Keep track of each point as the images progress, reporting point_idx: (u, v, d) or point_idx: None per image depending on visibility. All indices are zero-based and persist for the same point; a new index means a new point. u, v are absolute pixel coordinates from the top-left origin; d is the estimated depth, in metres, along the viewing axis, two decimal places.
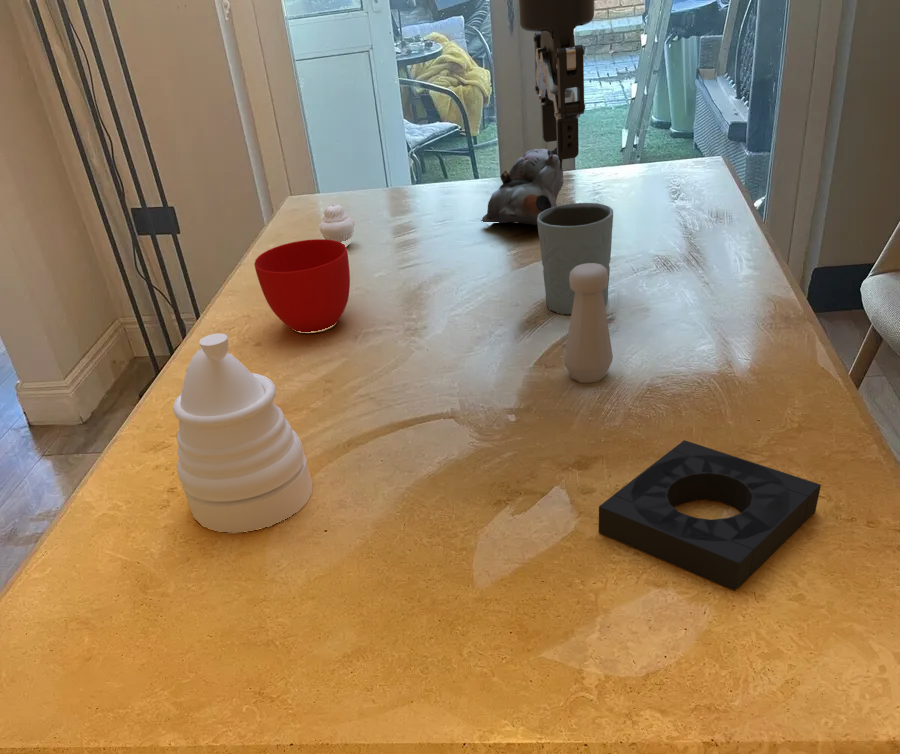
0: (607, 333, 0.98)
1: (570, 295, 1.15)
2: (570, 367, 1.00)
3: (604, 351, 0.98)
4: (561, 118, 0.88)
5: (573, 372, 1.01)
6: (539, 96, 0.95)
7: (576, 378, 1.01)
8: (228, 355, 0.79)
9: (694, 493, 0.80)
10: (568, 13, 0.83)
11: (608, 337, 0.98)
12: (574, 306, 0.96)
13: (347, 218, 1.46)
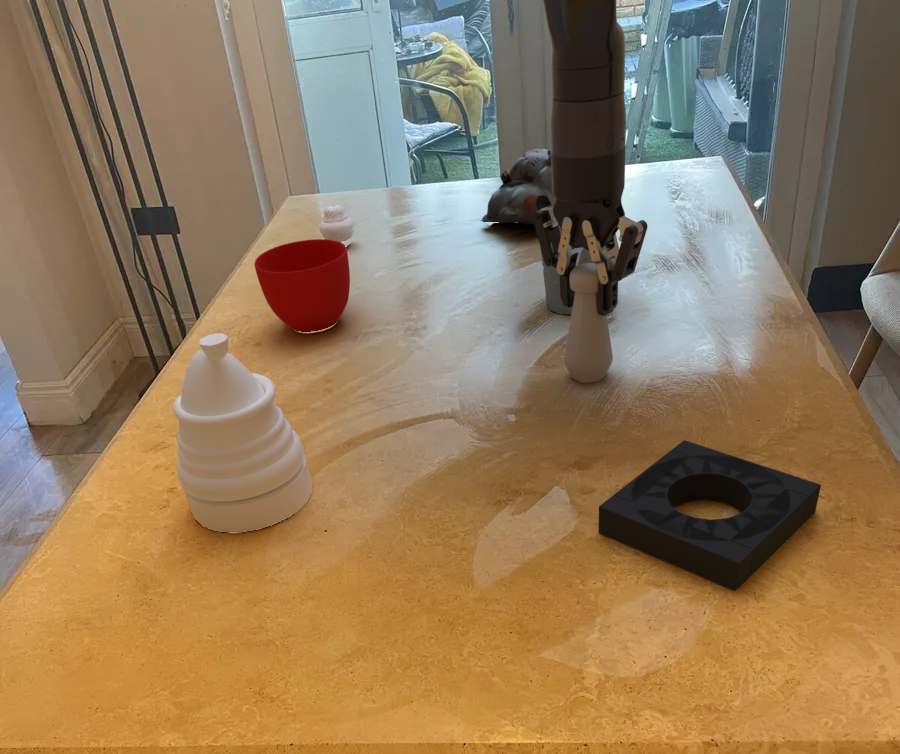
0: (607, 333, 0.98)
1: None
2: (570, 367, 1.00)
3: (604, 351, 0.98)
4: (609, 281, 0.92)
5: (573, 372, 1.01)
6: (561, 268, 0.95)
7: (576, 378, 1.01)
8: (228, 355, 0.79)
9: (694, 493, 0.80)
10: (620, 183, 0.86)
11: (608, 337, 0.98)
12: (574, 306, 0.96)
13: (347, 218, 1.46)
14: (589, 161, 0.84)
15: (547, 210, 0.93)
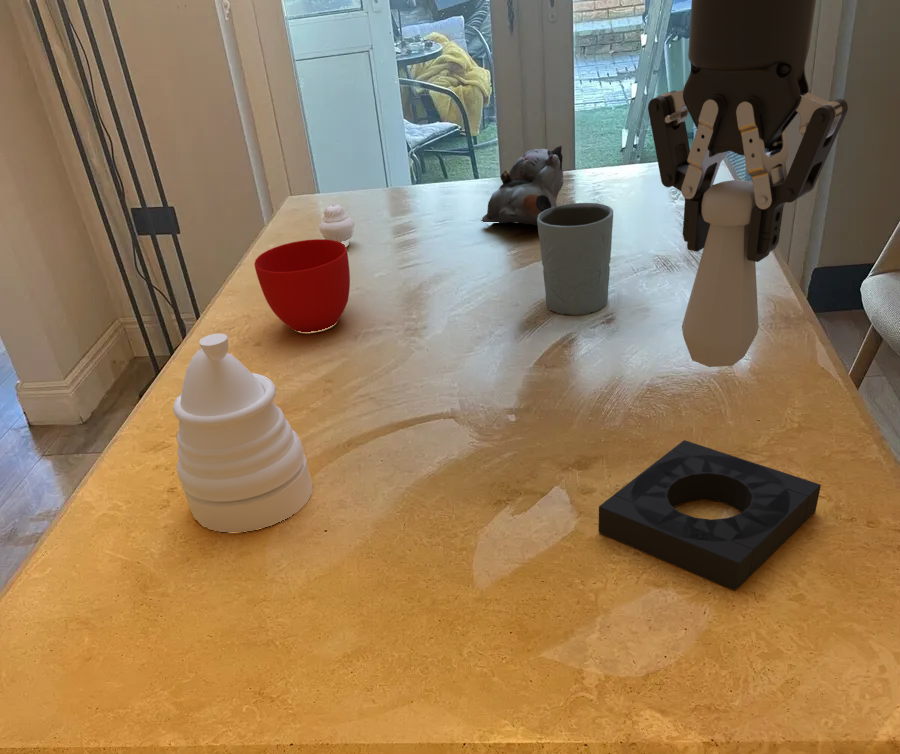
0: (754, 290, 0.64)
1: (570, 295, 1.15)
2: (694, 343, 0.66)
3: (749, 318, 0.65)
4: (772, 204, 0.58)
5: (698, 351, 0.67)
6: (690, 188, 0.62)
7: (701, 360, 0.68)
8: (228, 355, 0.79)
9: (694, 493, 0.80)
10: (807, 35, 0.53)
11: (755, 297, 0.65)
12: (707, 248, 0.63)
13: (347, 218, 1.46)
14: None
15: (672, 95, 0.60)
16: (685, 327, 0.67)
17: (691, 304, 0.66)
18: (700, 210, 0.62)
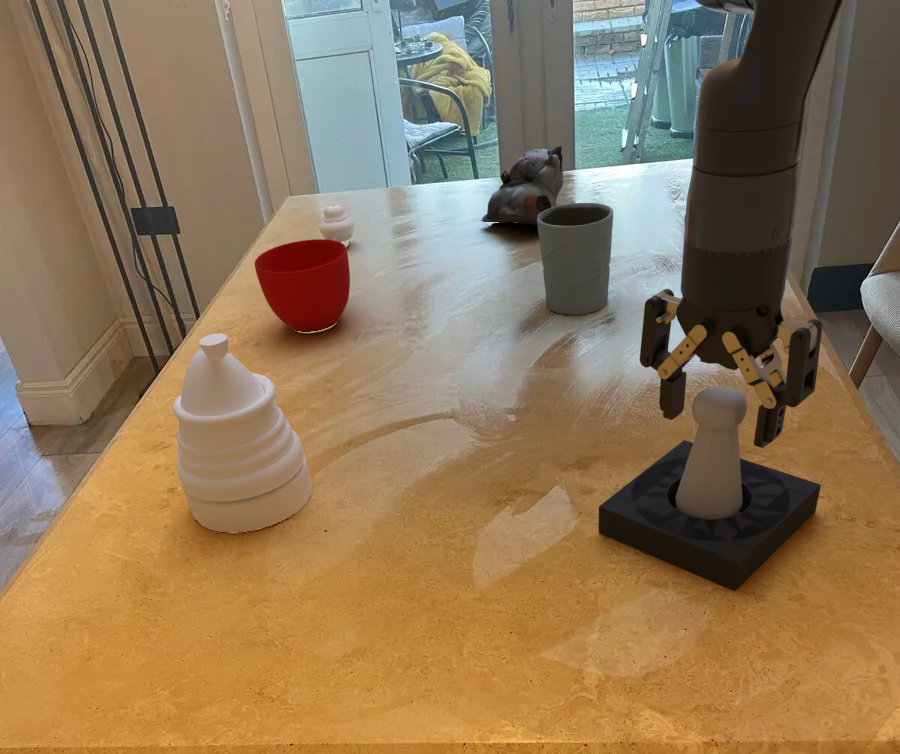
0: (738, 475, 0.73)
1: (570, 295, 1.15)
2: None
3: (734, 498, 0.74)
4: (777, 405, 0.66)
5: None
6: (664, 372, 0.71)
7: None
8: (228, 355, 0.79)
9: None
10: (782, 284, 0.61)
11: (739, 480, 0.74)
12: (697, 442, 0.72)
13: (347, 218, 1.46)
14: (746, 257, 0.59)
15: (667, 301, 0.68)
16: (678, 501, 0.76)
17: (683, 484, 0.75)
18: (674, 388, 0.72)
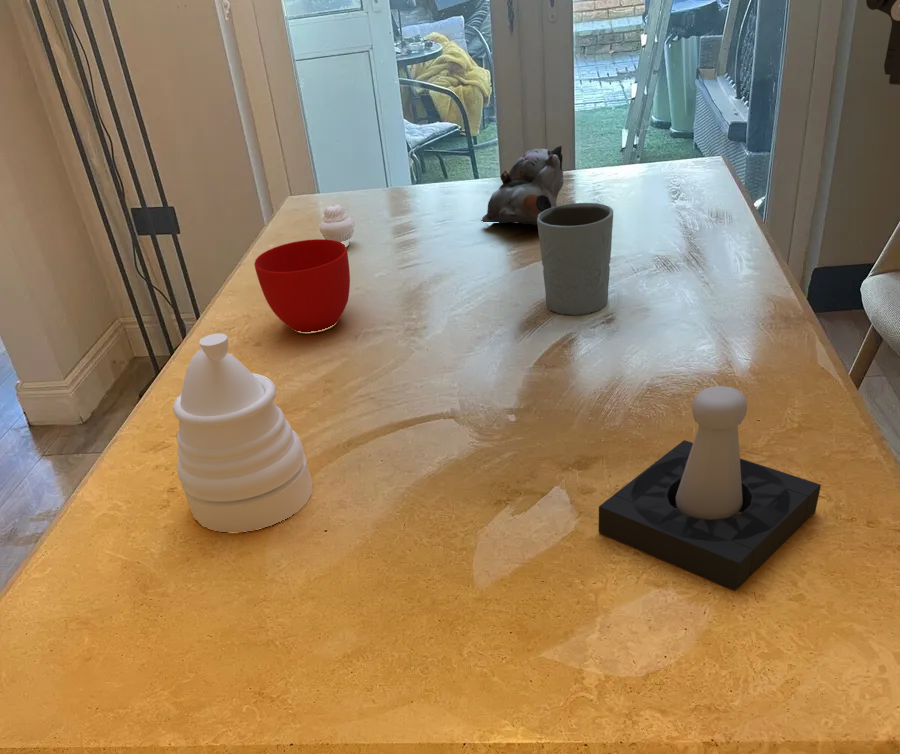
0: (738, 475, 0.73)
1: (570, 295, 1.15)
2: None
3: (734, 498, 0.74)
4: None
5: None
6: None
7: None
8: (228, 355, 0.79)
9: None
10: None
11: (739, 480, 0.74)
12: (697, 442, 0.72)
13: (347, 218, 1.46)
14: None
15: None
16: (678, 501, 0.76)
17: (683, 484, 0.75)
18: None
